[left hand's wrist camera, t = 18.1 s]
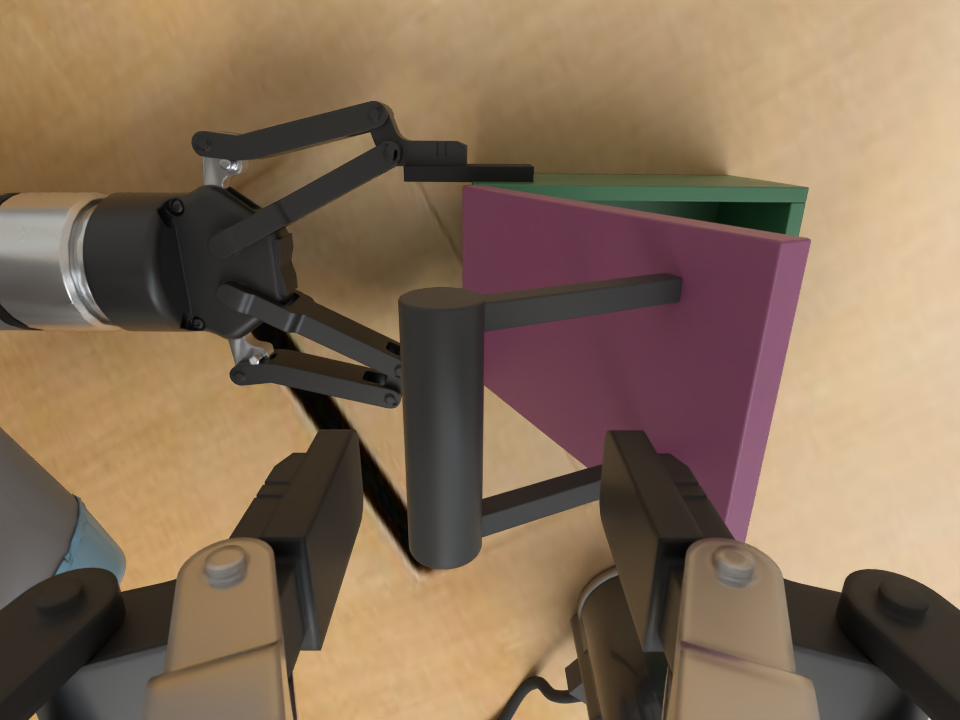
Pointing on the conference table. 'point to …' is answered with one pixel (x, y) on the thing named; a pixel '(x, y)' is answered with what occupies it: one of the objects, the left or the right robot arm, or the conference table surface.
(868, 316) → the conference table surface
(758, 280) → the lid
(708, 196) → the chest
